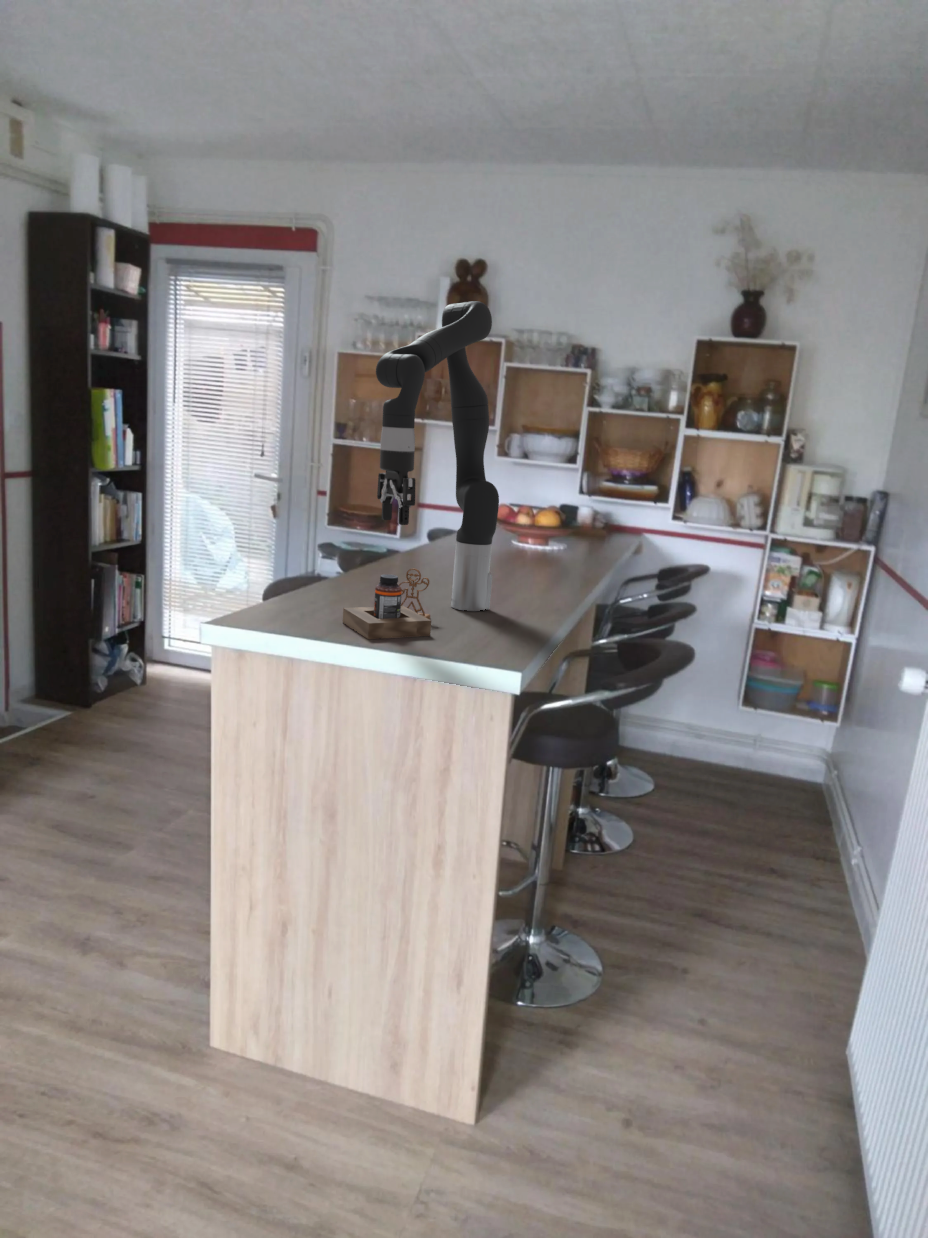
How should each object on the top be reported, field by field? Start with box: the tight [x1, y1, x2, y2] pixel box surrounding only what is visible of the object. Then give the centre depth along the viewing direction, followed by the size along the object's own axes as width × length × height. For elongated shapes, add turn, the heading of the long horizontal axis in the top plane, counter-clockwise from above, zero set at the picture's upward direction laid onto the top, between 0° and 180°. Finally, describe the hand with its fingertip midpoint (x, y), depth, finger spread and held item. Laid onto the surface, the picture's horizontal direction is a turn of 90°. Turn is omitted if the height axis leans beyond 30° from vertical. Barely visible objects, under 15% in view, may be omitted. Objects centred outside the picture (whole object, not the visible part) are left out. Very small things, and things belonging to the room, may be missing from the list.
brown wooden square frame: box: [342, 605, 432, 640], centre depth 194 cm, size 15×15×4 cm
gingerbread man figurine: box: [398, 567, 431, 620], centre depth 207 cm, size 9×4×12 cm, turn 73°
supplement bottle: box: [373, 574, 403, 619], centre depth 193 cm, size 6×6×11 cm
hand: (394, 522), depth 193 cm, fingers open, 8 cm apart
